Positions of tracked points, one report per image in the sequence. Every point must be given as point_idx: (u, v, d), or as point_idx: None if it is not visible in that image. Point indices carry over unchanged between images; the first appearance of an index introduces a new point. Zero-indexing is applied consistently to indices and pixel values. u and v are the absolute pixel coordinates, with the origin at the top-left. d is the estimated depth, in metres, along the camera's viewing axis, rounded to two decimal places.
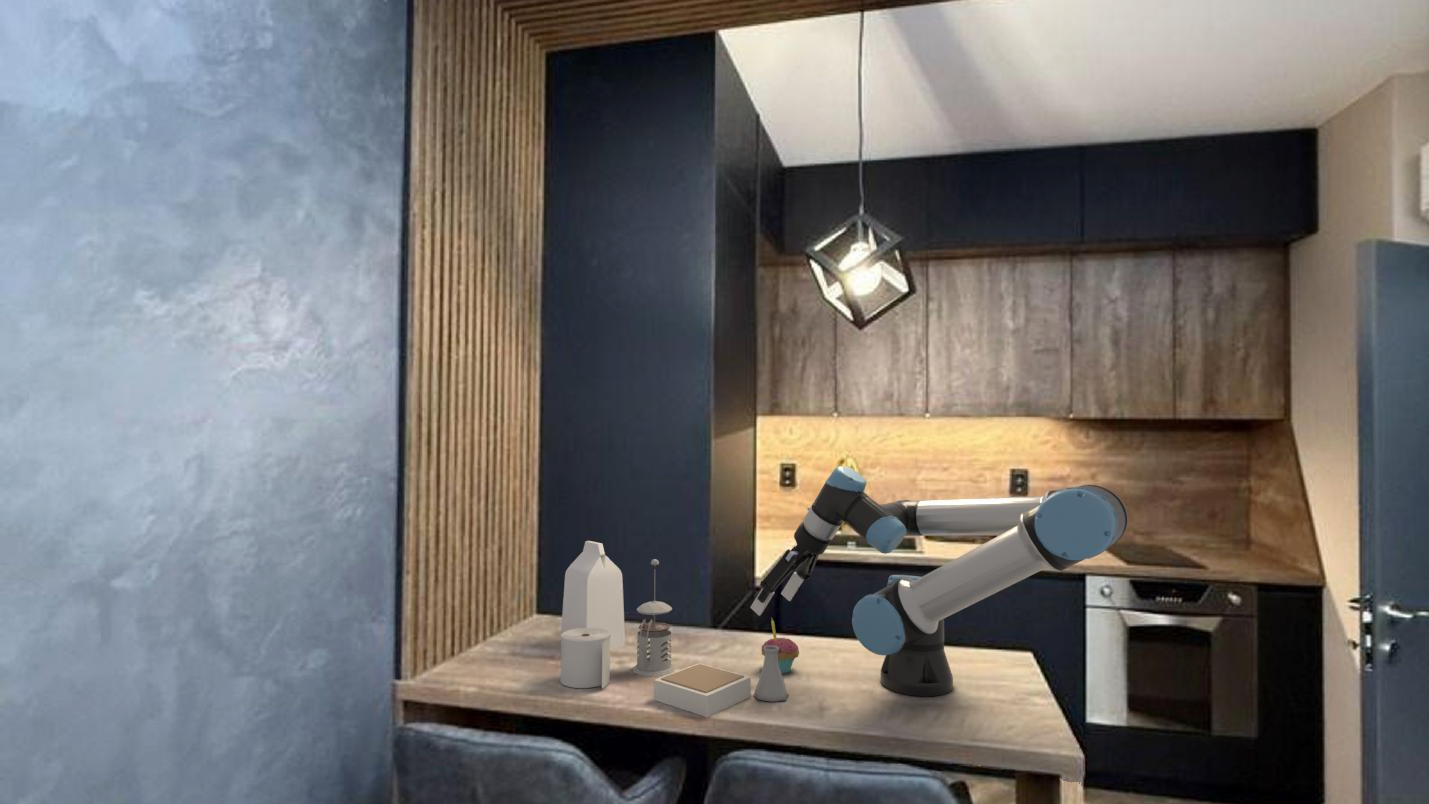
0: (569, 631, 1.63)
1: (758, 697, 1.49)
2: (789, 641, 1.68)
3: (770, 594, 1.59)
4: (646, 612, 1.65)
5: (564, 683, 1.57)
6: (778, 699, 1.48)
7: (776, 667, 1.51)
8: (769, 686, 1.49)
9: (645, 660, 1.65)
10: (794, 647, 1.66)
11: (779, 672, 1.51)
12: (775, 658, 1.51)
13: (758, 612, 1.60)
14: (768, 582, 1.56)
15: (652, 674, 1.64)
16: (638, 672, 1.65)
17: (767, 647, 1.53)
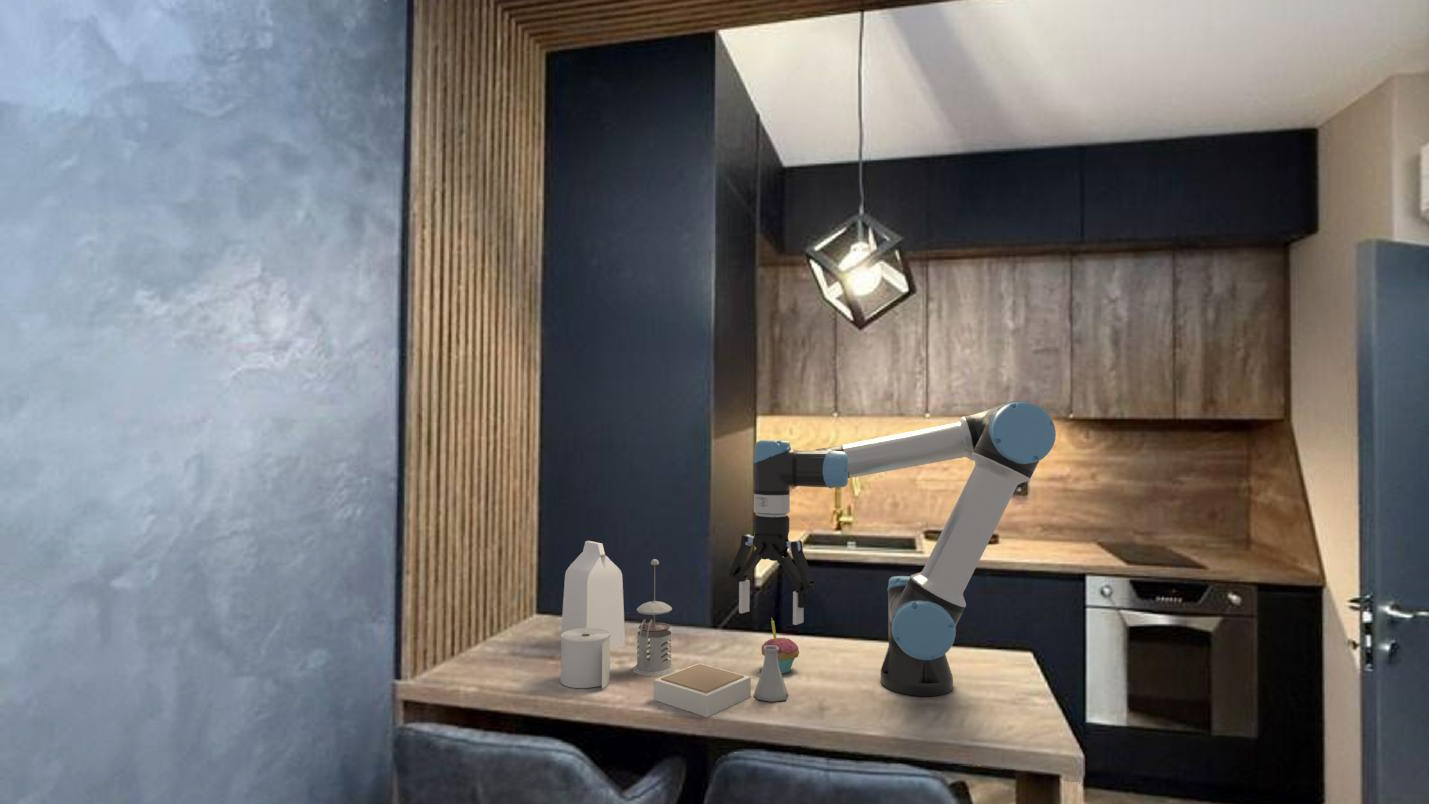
0: (569, 631, 1.63)
1: (758, 697, 1.49)
2: (789, 641, 1.68)
3: None
4: (646, 612, 1.65)
5: (564, 683, 1.57)
6: (778, 699, 1.48)
7: (776, 667, 1.51)
8: (769, 686, 1.49)
9: (645, 660, 1.65)
10: (794, 647, 1.66)
11: (779, 672, 1.51)
12: (775, 658, 1.51)
13: (802, 620, 1.48)
14: (810, 579, 1.46)
15: (652, 674, 1.64)
16: (638, 672, 1.65)
17: (767, 647, 1.53)
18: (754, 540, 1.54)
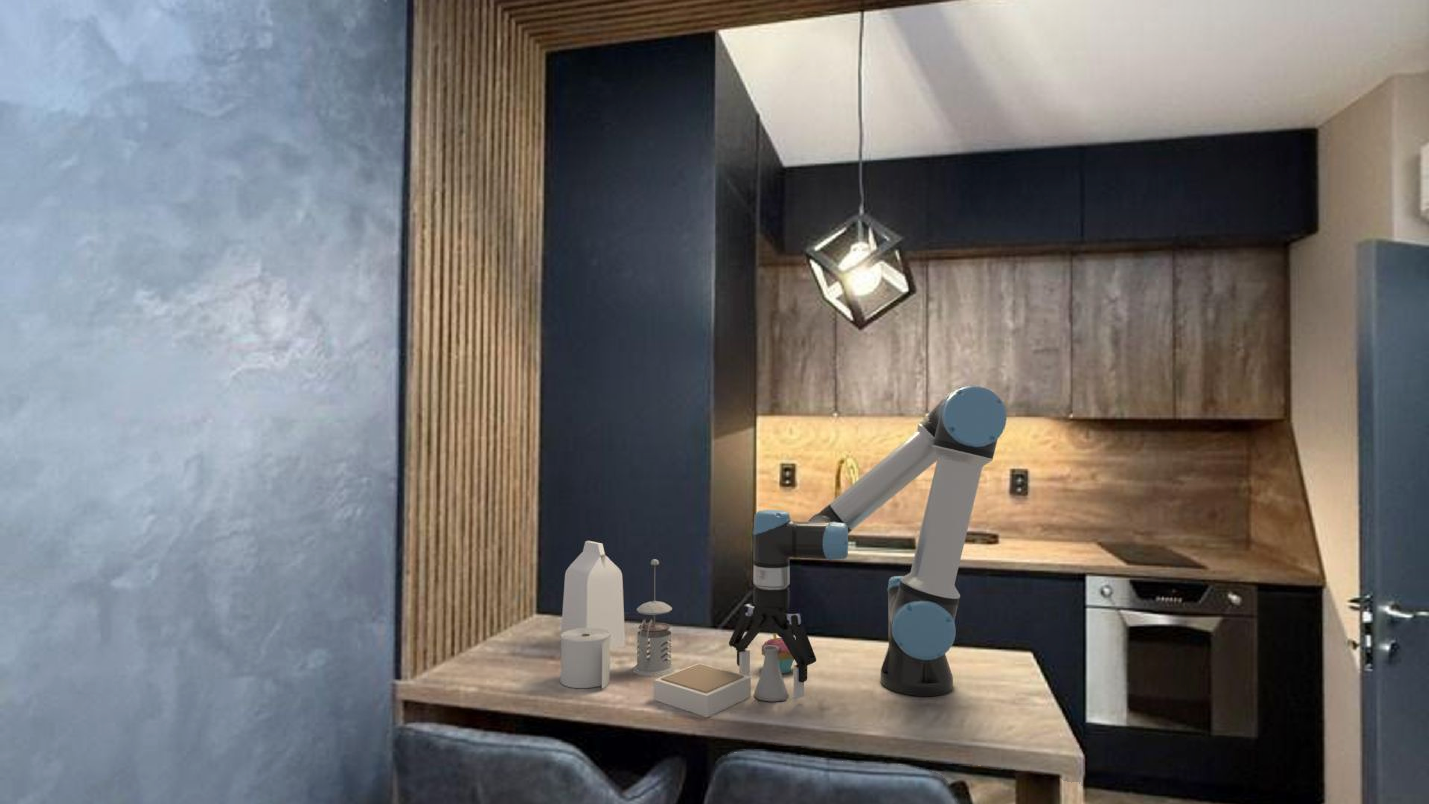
0: (569, 631, 1.63)
1: (758, 697, 1.49)
2: None
3: None
4: (646, 612, 1.65)
5: (564, 683, 1.57)
6: (778, 699, 1.48)
7: (776, 667, 1.51)
8: (769, 686, 1.49)
9: (645, 660, 1.65)
10: None
11: (779, 672, 1.51)
12: (775, 658, 1.51)
13: (802, 694, 1.48)
14: (810, 654, 1.46)
15: (652, 674, 1.64)
16: (638, 672, 1.65)
17: (767, 647, 1.53)
18: (754, 611, 1.54)
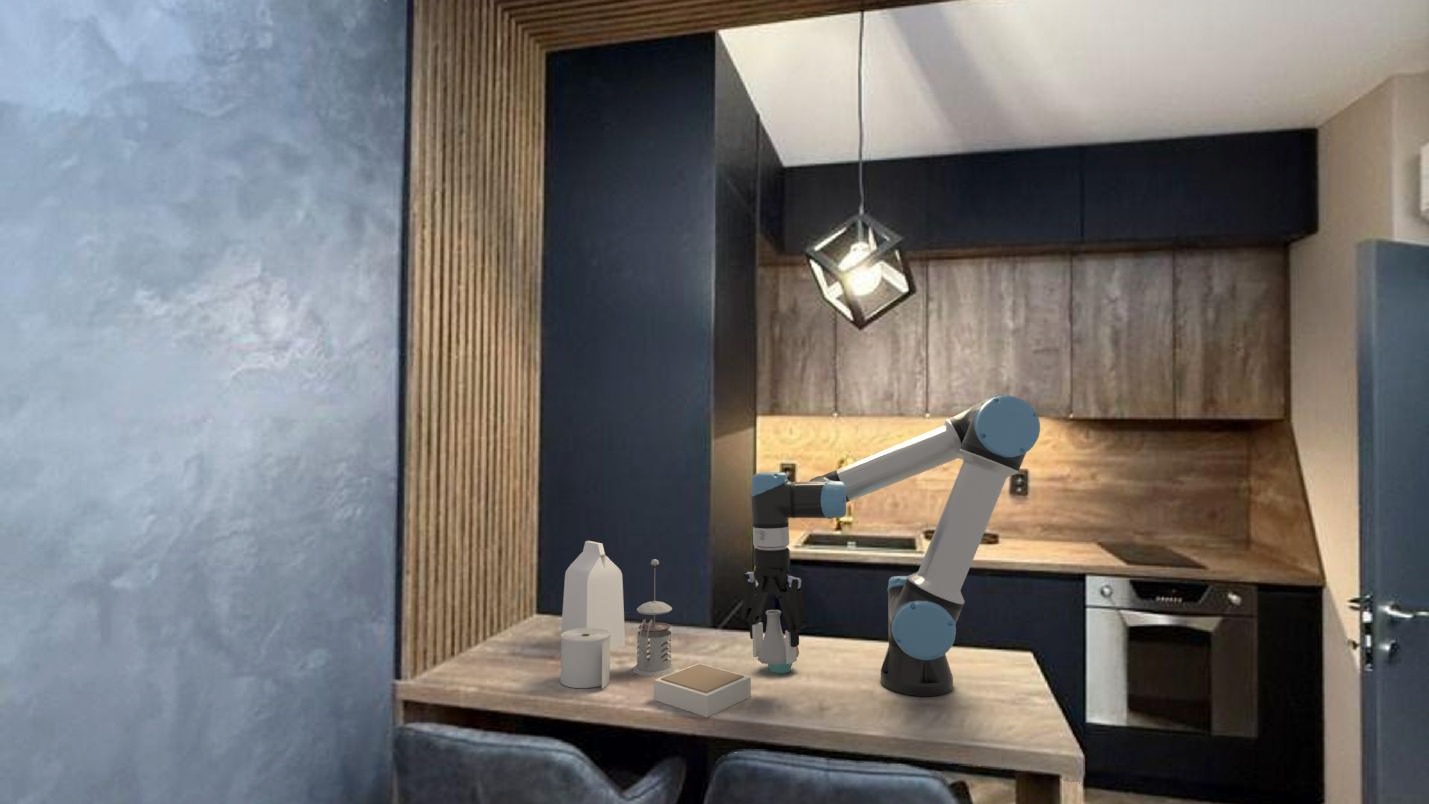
0: (569, 631, 1.63)
1: (762, 661, 1.50)
2: None
3: None
4: (646, 612, 1.65)
5: (564, 683, 1.57)
6: (782, 662, 1.49)
7: (779, 631, 1.51)
8: (772, 649, 1.49)
9: (645, 660, 1.65)
10: None
11: (782, 636, 1.51)
12: (777, 622, 1.51)
13: (795, 658, 1.49)
14: (803, 619, 1.47)
15: (652, 674, 1.64)
16: (638, 672, 1.65)
17: (769, 611, 1.53)
18: (755, 574, 1.54)
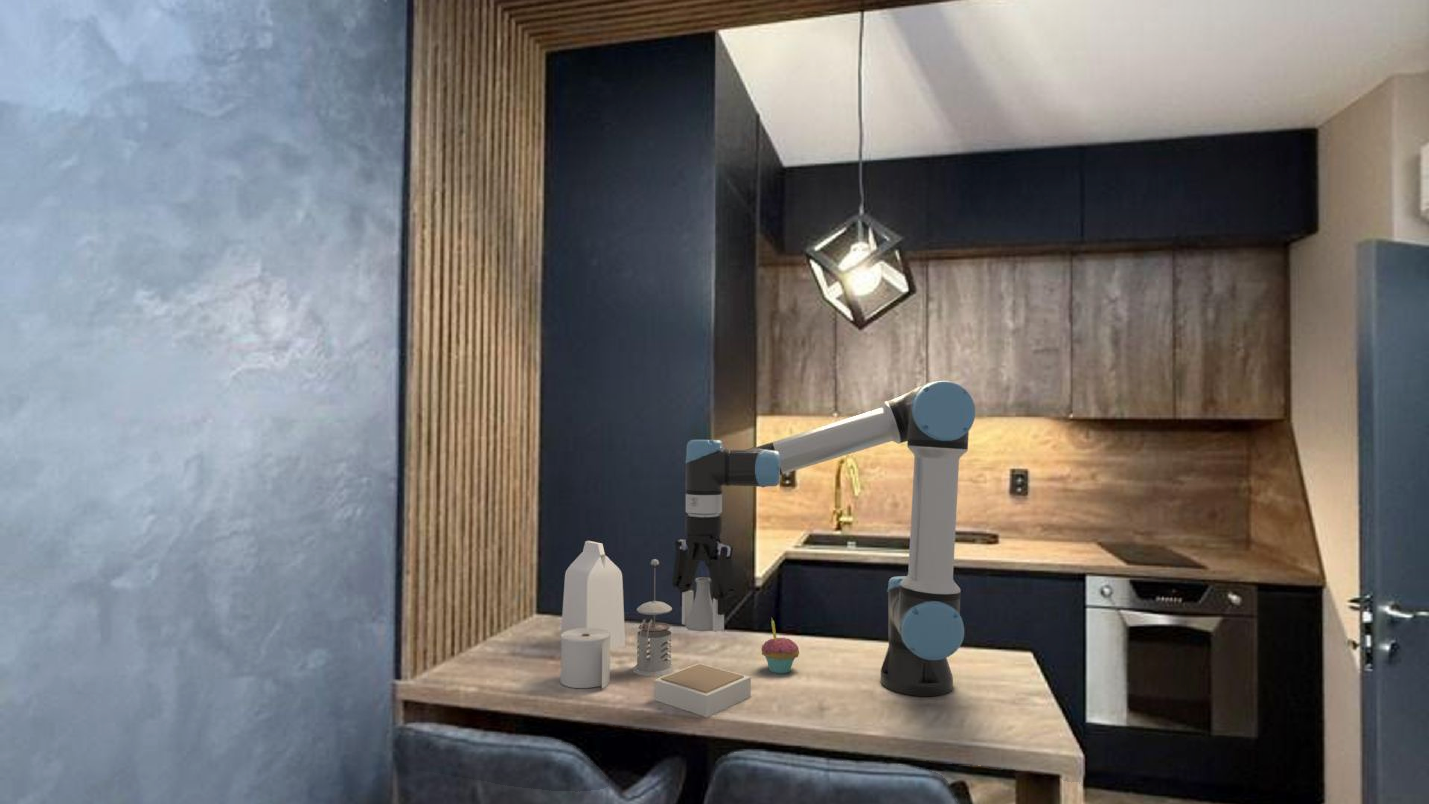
0: (569, 631, 1.63)
1: (689, 627, 1.49)
2: (789, 641, 1.68)
3: None
4: (646, 612, 1.65)
5: (564, 683, 1.57)
6: (708, 629, 1.48)
7: (707, 598, 1.50)
8: (699, 616, 1.48)
9: (645, 660, 1.65)
10: (794, 647, 1.66)
11: (710, 603, 1.50)
12: (706, 589, 1.50)
13: (722, 627, 1.48)
14: (731, 587, 1.46)
15: (652, 674, 1.64)
16: (638, 672, 1.65)
17: (699, 579, 1.52)
18: (687, 541, 1.53)
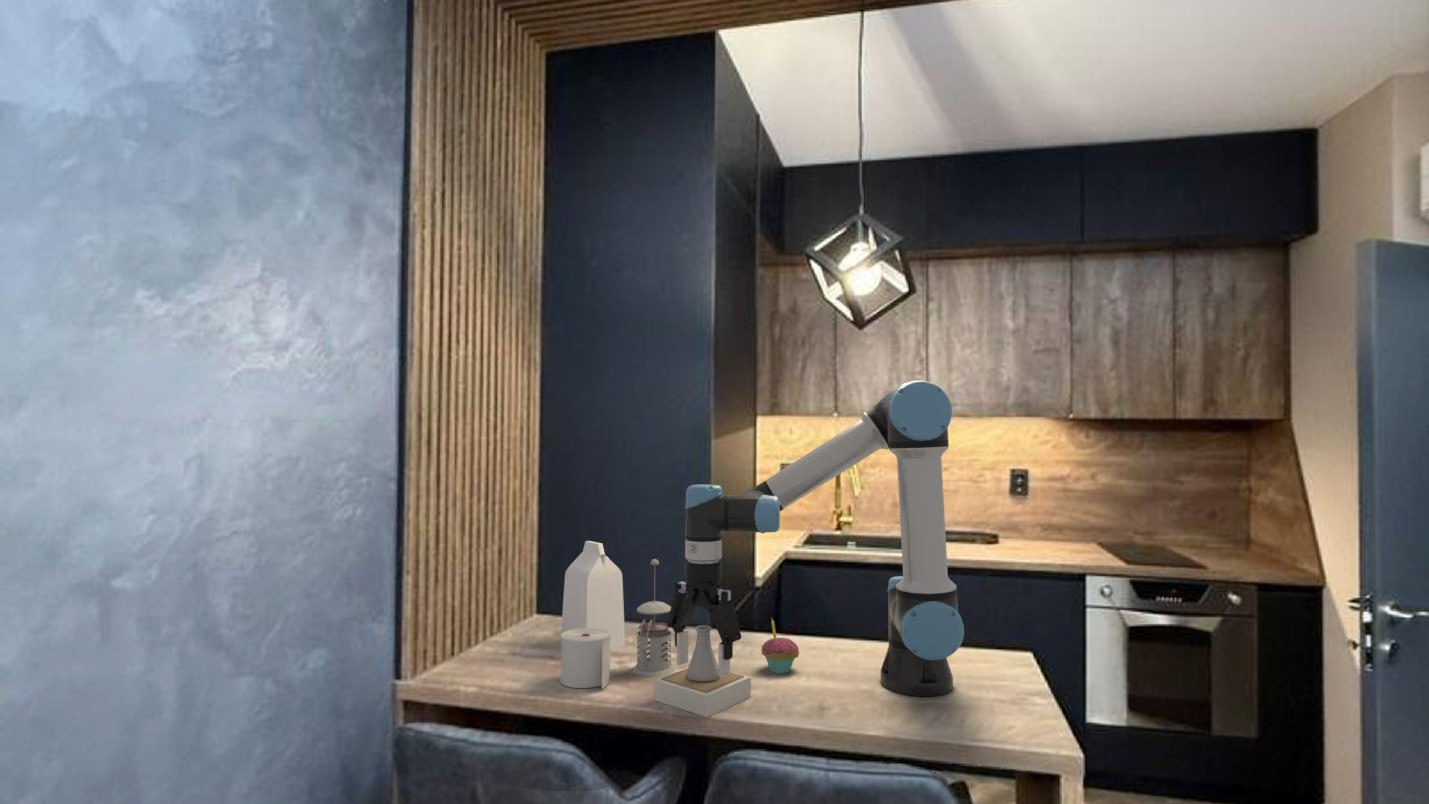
0: (569, 631, 1.63)
1: (689, 677, 1.48)
2: (789, 641, 1.68)
3: None
4: (646, 612, 1.65)
5: (564, 683, 1.57)
6: (709, 679, 1.47)
7: (708, 647, 1.49)
8: (700, 666, 1.48)
9: (645, 660, 1.65)
10: (794, 647, 1.66)
11: (711, 652, 1.50)
12: (706, 638, 1.50)
13: (728, 671, 1.47)
14: (736, 631, 1.45)
15: (652, 674, 1.64)
16: (638, 672, 1.65)
17: (700, 627, 1.52)
18: (686, 586, 1.52)
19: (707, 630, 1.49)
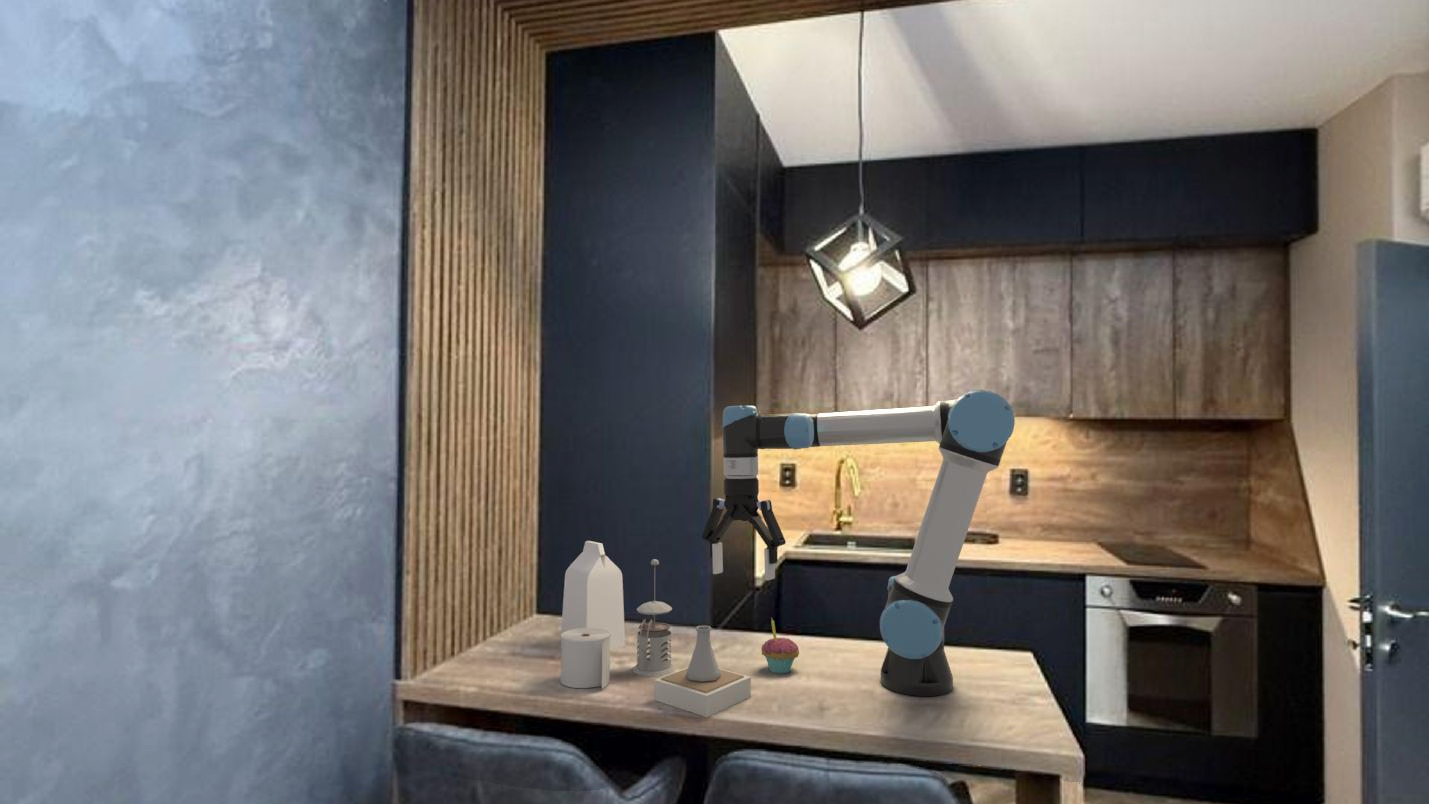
0: (569, 631, 1.63)
1: (689, 677, 1.48)
2: (789, 641, 1.68)
3: None
4: (646, 612, 1.65)
5: (564, 683, 1.57)
6: (709, 679, 1.47)
7: (708, 647, 1.49)
8: (700, 666, 1.48)
9: (645, 660, 1.65)
10: (794, 647, 1.66)
11: (711, 652, 1.50)
12: (706, 638, 1.50)
13: (773, 576, 1.55)
14: (780, 536, 1.53)
15: (652, 674, 1.64)
16: (638, 672, 1.65)
17: (700, 627, 1.52)
18: (725, 503, 1.60)
19: (707, 630, 1.49)
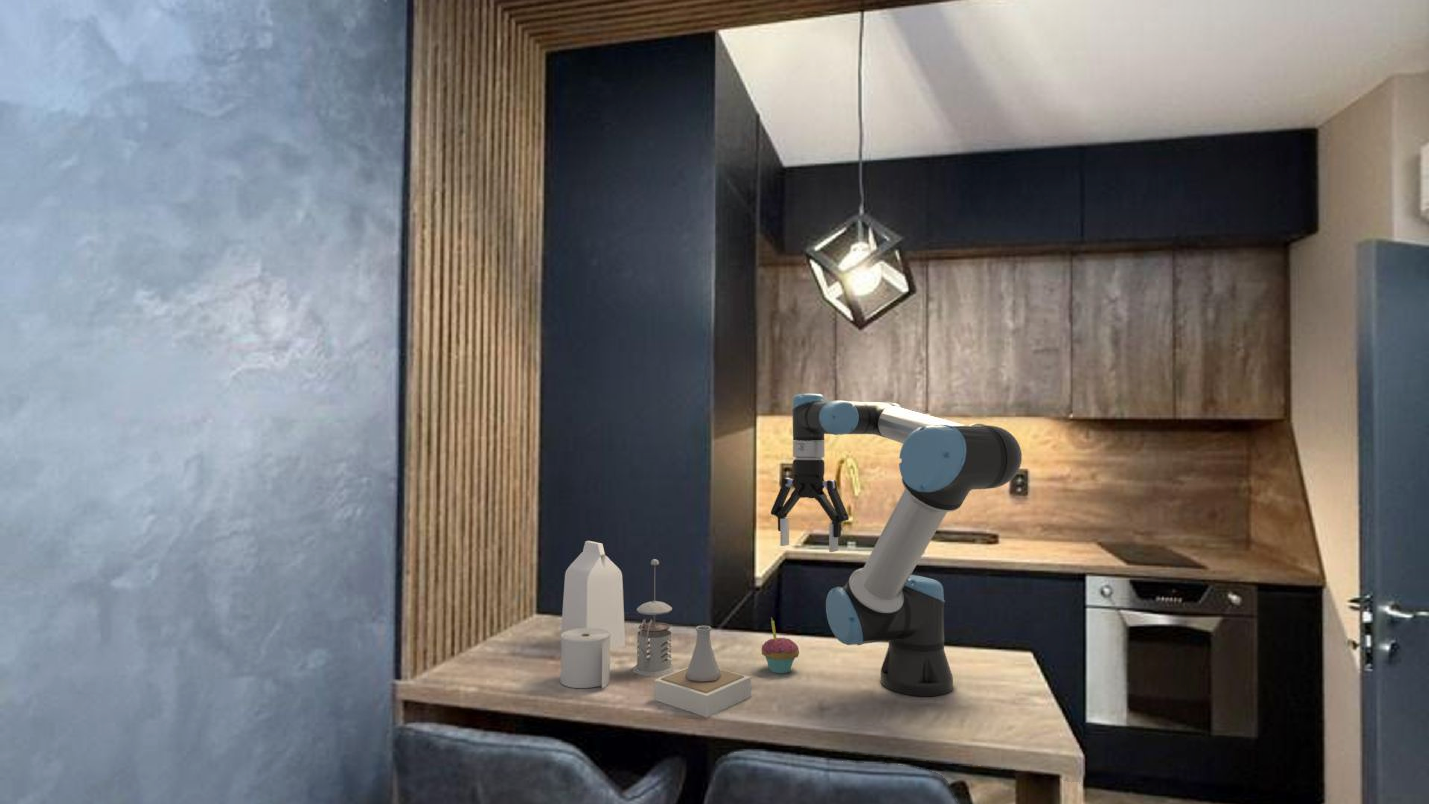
0: (569, 631, 1.63)
1: (689, 677, 1.48)
2: (789, 641, 1.68)
3: None
4: (646, 612, 1.65)
5: (564, 683, 1.57)
6: (709, 679, 1.47)
7: (708, 647, 1.49)
8: (700, 666, 1.48)
9: (645, 660, 1.65)
10: (794, 647, 1.66)
11: (711, 652, 1.50)
12: (706, 638, 1.50)
13: (836, 548, 1.71)
14: (844, 513, 1.69)
15: (652, 674, 1.64)
16: (638, 672, 1.65)
17: (700, 627, 1.52)
18: (793, 481, 1.77)
19: (707, 630, 1.49)
